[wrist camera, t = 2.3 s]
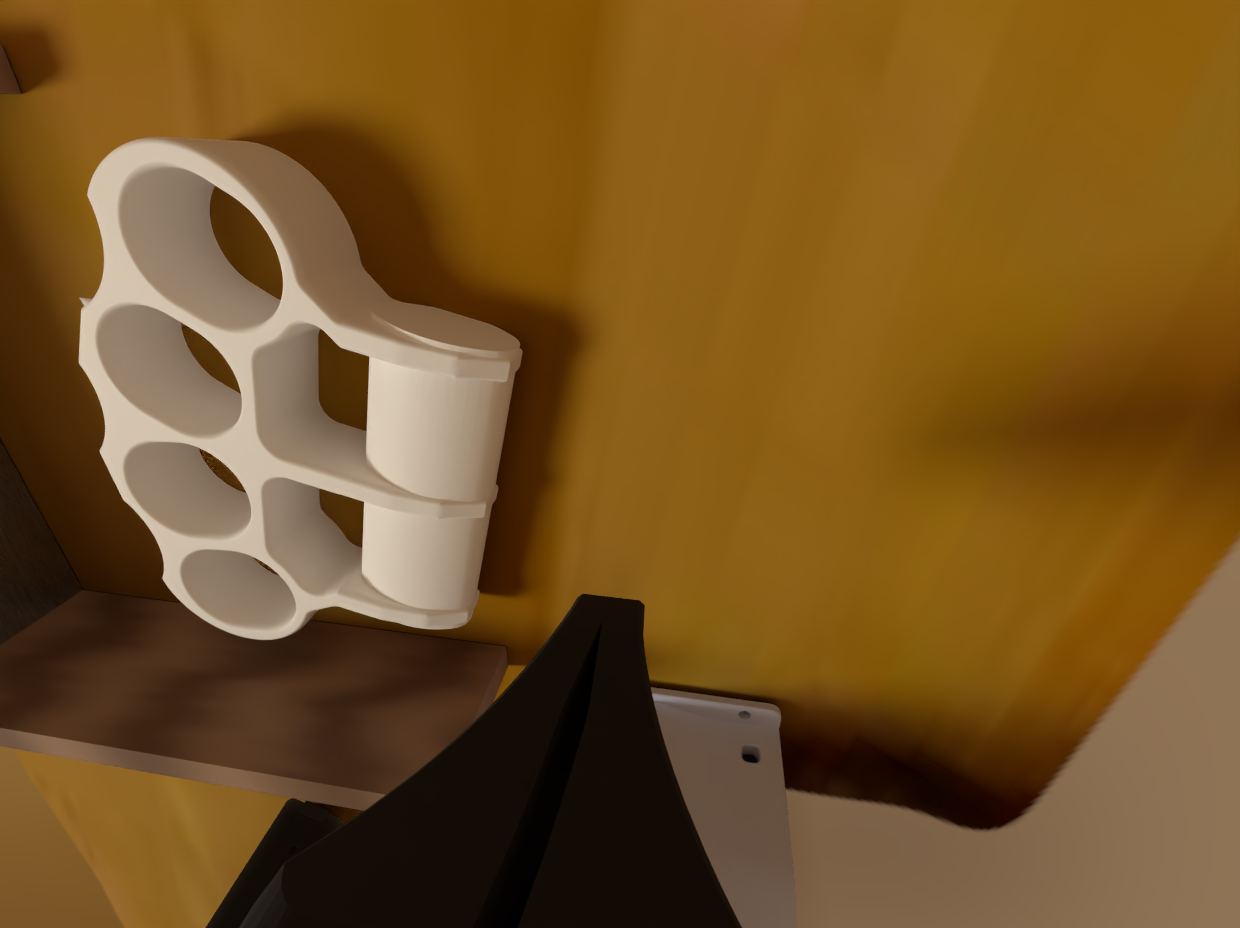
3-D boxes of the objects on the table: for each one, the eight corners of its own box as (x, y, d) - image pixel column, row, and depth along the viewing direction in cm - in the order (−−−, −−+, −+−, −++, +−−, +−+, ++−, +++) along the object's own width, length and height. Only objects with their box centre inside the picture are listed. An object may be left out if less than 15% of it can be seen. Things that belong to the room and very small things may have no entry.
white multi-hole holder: (476, 641, 26) (172, 546, 26) (553, 230, 17) (91, 90, 17) (445, 702, 23) (101, 595, 23) (518, 244, 14) (-40, 74, 14)
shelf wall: (441, 40, 15) (243, -48, 9) (508, 665, 25) (441, 824, 19) (-249, 46, 18) (-765, -17, 11) (72, 605, 28) (-106, 727, 22)
